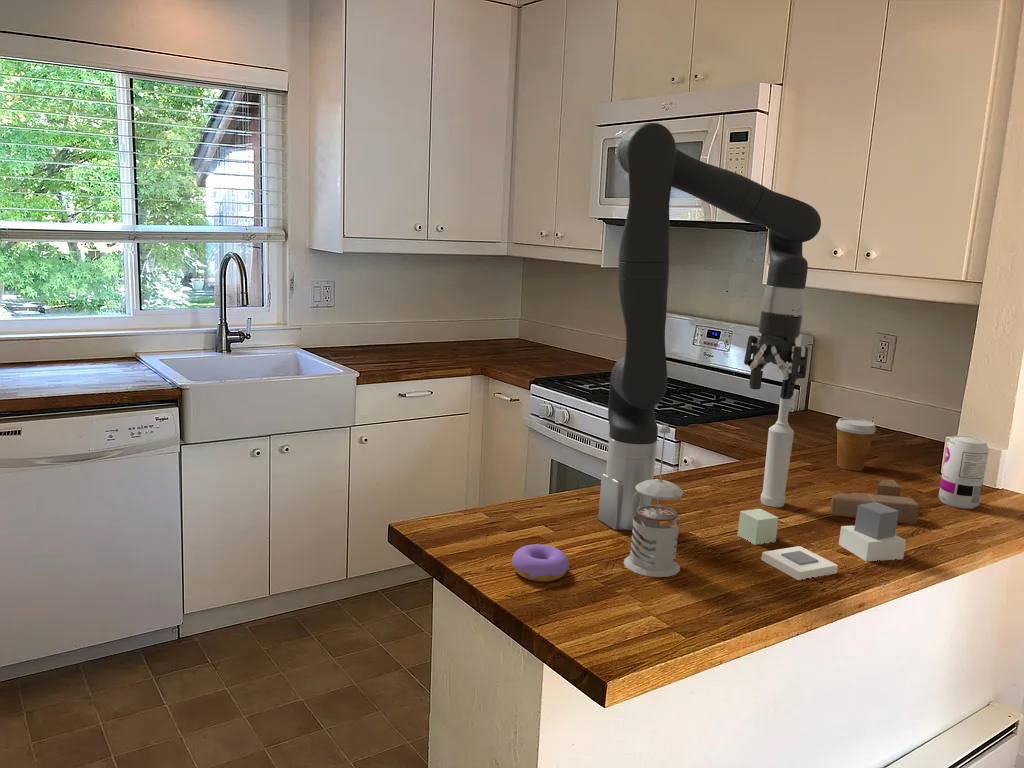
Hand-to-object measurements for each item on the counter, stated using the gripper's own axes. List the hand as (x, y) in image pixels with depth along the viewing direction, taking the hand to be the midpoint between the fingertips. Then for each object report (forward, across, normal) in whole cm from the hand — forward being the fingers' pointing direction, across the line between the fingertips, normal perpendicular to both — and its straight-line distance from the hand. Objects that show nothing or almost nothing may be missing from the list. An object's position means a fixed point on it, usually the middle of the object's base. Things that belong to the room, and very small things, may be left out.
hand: (770, 393), depth 161 cm
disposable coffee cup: (+26, -26, +55) cm, 66 cm away
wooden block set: (+27, -1, +33) cm, 43 cm away
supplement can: (+26, +3, +57) cm, 63 cm away
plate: (+27, +19, -6) cm, 34 cm away
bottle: (+27, -9, +14) cm, 32 cm away
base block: (+27, +18, +13) cm, 35 cm away
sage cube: (+27, +6, -4) cm, 28 cm away
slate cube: (+23, +18, +13) cm, 32 cm away
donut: (+29, +6, -51) cm, 59 cm away
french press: (+28, +9, -31) cm, 43 cm away
